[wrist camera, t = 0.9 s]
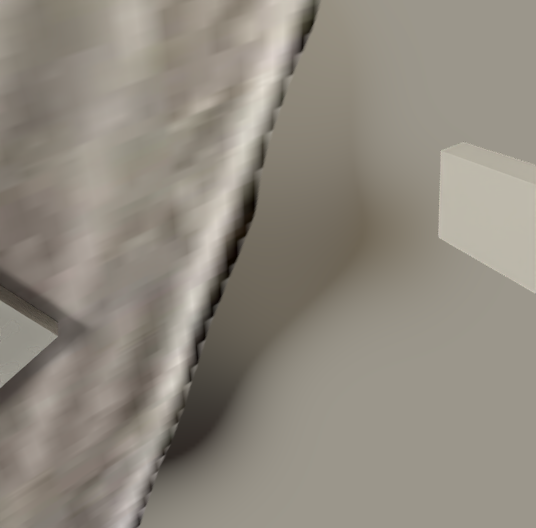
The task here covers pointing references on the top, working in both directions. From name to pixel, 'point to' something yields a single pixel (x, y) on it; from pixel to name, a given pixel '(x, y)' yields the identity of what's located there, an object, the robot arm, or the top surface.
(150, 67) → the top surface
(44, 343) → the console
